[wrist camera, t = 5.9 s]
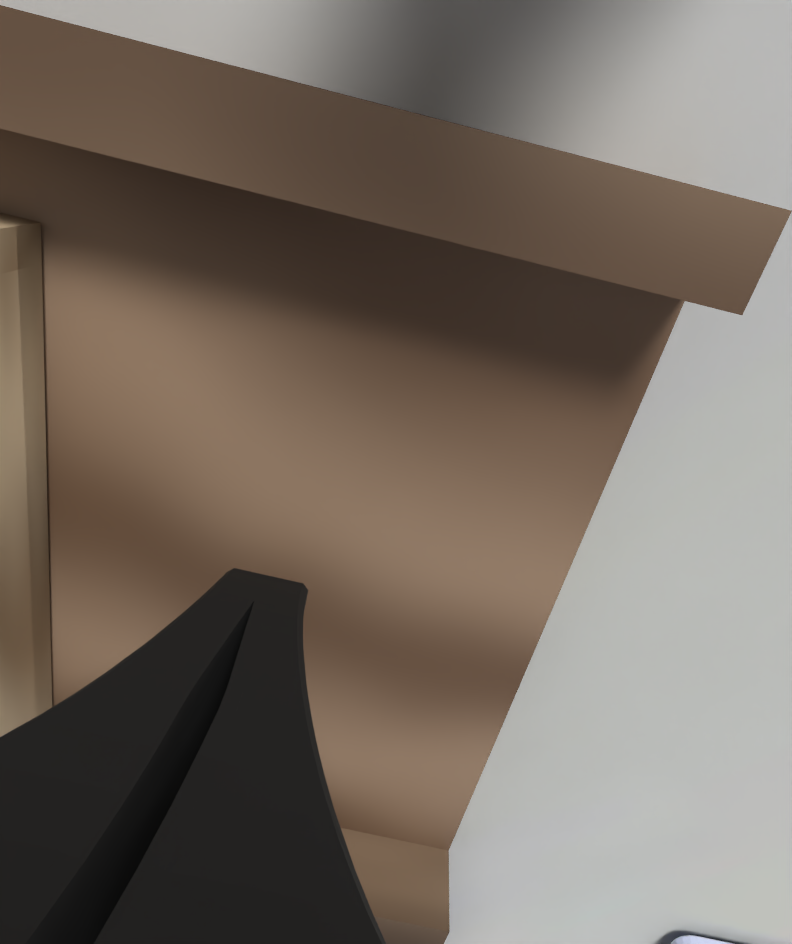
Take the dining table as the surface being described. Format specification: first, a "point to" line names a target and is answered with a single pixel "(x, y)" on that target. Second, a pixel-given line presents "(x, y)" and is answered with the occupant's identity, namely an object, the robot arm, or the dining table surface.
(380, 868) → the bay
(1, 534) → the light wooden drawer
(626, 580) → the dining table surface
